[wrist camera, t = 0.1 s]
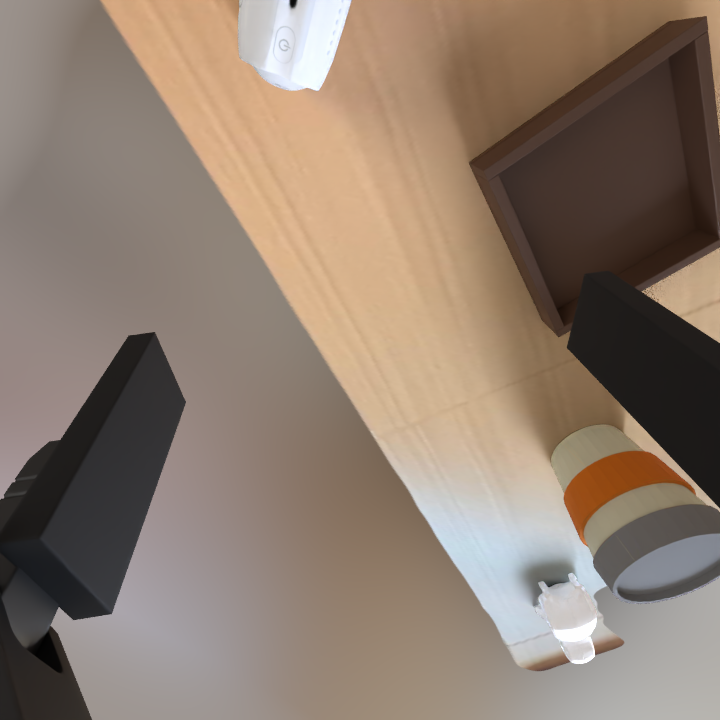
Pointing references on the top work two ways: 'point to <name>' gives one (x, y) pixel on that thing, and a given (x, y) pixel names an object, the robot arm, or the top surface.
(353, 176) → the top surface
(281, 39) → the photo printer
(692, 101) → the tray
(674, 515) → the reusable coffee cup
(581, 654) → the white animal figurine
